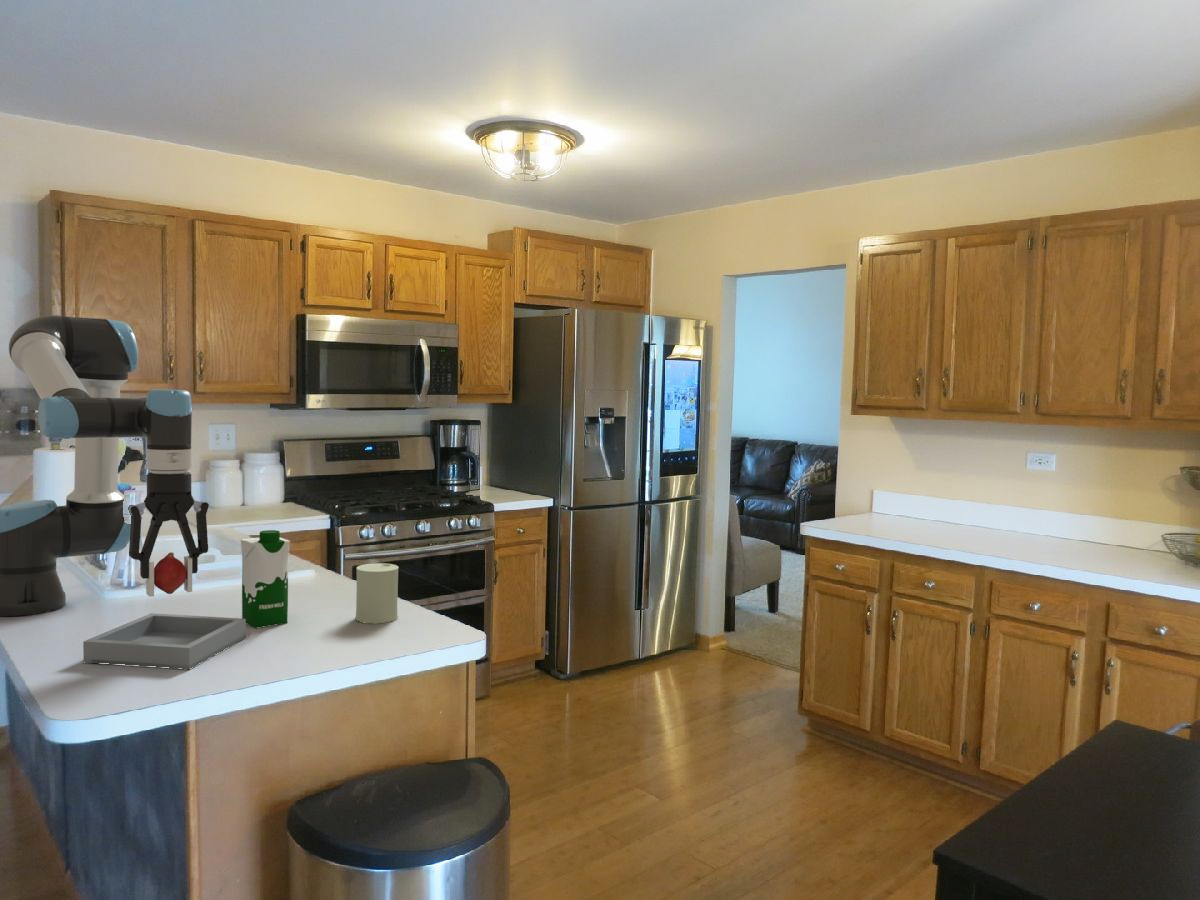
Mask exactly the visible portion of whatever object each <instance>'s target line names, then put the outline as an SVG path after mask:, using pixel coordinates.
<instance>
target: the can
mask: <svg viewBox="0 0 1200 900" xmlns="http://www.w3.org/2000/svg"><path fill="white" fill-rule="evenodd" d="M399 567H400V566H398V565H397V564H393V563H381V562H378V563H377V562H376V563H366V564H361V565H358V566H357V567H356V570H355V571H356V599H355V600H356V605H355V607H356V608H355V609H356V610H355V621H356V620H357V621H356V622H358V621H360V622H359V623H361V622H365V623H364V624H368V623H381V624H386V623H385V622H388V623H391V621H392V622H395V621H396V620H397V619H398V618H399V616H398V614H399V613H398V597H399V596H398V594H399V593H398V592H399V590H398V589H399V588H398V587H399V586H398V585H399Z"/></svg>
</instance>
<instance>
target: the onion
mask: <svg viewBox="0 0 1200 900" xmlns="http://www.w3.org/2000/svg"><path fill="white" fill-rule="evenodd" d="M174 555H175V554H174V552H171V551H170V552H169V553H167V554H166V555H165V556H164V557H163V558H161V559H160V560H159V561H158V562H157V563H156V564H155V565H154V587H156V588H157V589H159V590H160V591H162V592H163V593H166V594H168V595H171V594H174V593H175V591H176V590H178V589H179V588H180V587H182V586H183V585H184V582H185V580H186V569H185V566H184V562H182V561H181V560H180V559H178V558H177V557H175V556H174Z"/></svg>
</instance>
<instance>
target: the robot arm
mask: <svg viewBox="0 0 1200 900" xmlns="http://www.w3.org/2000/svg"><path fill="white" fill-rule="evenodd" d="M8 353H9V358H10V359H11V360H12V363H13V364H14V366H15V367H16V368H17V369H18V370H19V371H21V372H23V373H24V374H25V375H26V376H27V377H28V380H29V381H30V382H31V385H32V387H33V388H34V389H35V391H36V393H37V395H38V396H39V399H40V401H39V405H38V410H37V420H38V426H39V430H40V433H41V434H42V435H43V437H46V438H54V439H55V438H57V439H64V440H69V439H74V478H73V479H74V480H73V481H74V484H73V485H74V489H72V491H71V492H70V493H69V494H68V495H66V497H65V498H66V499H65V500H66V501H65V502H66V503H65V505H57V503H56V501H55V500H53V499H40V500H36V499H35V500H29V501H23V502H22V501H21V502H17V503H12V504H8V505H4V506H2V507H0V617H16V616H19V617H20V616H27V615H29V616H30V615H36V614H42V613H48V612H51V611H52V612H53V611H56V610H58V609H61V608H64V607H65V606H66V605H67V601H66V600H67V598H66V596H67V595H66V592H65V591H64V589H63V585H62V582H61V580H60V577H59V574H58V571H57V559H58V558H59V559H60V558H69V557H79V556H87V555H88V556H89V555H91V556H92V555H106V554H109V553H110V554H111V553H115V552H116V553H117V552H121V551H123V550H124V549H125V548H126V547H127V545H129V546H128V557H130V558H131V559H133V560H138V561H139V563H140V564H139V565H140V568H139V569H140V570H139V572H140V574H139V575H140V577H141V578H142V579H145V585H146V586H145V588H146V590H145V592H146V595H147V596H148V597H149V598H151V597H155V584H154V567H155V561H154V560H152V559H151V556H152V553H153V550H154V547H155V545H156V544H155V543H156V541H157V538H158V535H159V532H160V530H161V529H160V528H161V527H162V525H163V523H165V522H167V521H168V522H169V521H175V522H176V523H177V524H178V528H179V530H180V533H181V537H182V539H183V543H184V545H185V548H186V550H187V553H188V555H184V556H183V559H184V560H183V565H184V566H185V569H186V580H185V582H184V583H183V586H184V587H183V589H184V591H185V592H187V593H192V592H193V574H197V573H198V571H199V570H198V569H199V568H198V566H199V564H198V558H199V557H200V555H202V554H207V553H208V552H209V539H208V524H207V523H208V522H207V513H208V509H209V506H210V504H209V502H207V501H204V500H195V498H194V497H193V494H192V473H191V472H189V470H192V420H193V419H192V414H193V406H192V395H191V393H190V392H189V391H188V390H186V389H159V388H158V389H155V388H154V389H149V390H147V393H146V397H139V398H136V397H135V398H129V397H127V398H126V397H121V387H122V386H123V385H125V383H127V382H128V380H129V374H131V373H134V372H136V370H137V368H138V364H139V348H138V343H137V340H136V336H135V333H134V332H133V329H132V328H131V326H130V325H129V324H128V323H126V322H125V321H122V320H115V319H108V318H96V317H95V318H94V317H78V316H77V317H76V316H64V315H63V316H62V315H56V314H55V315H52V314H51V315H41V316H38V317H34V318H33V319H30V320H28V321H26V322H24V323H23V324H21V325H20V326H19V327H18V328H17V329H16V330H14V332H13V334H12V335H11V337H10V339H9V342H8ZM120 438H146V469H147V470H148V471H150V472H148V473H147V474H146V496H145V498H144V501H143V502H139V503H138V504H135V505H134V504H131V505H129V507H128V510H129V513H130V515H131V524H127V523H125V522H124V517H123V501H124V496H125V494H123V493H122V492H121V491H120V490H119V488H118V482H119V481H118V480H119V447H120V444H119V443H120ZM192 507H193V510H194V512H195V521H196V533H197V534H196V535H197V537H196V538H197V545H196V543H195V539H194V536H193V533H192V530H191V528H190V525H189V520H188V518H187V513H188V512H189V511H190V509H191V508H192ZM145 509H146V510H147V511H148V512H149V513H150V514H151V516H152V517H151V519H150V522H149V523H150V525H149V526H148V530H147V533H146V535H145V536H146V537H145V539H144V542H143V545H142V548H141V551H140V547H141V533H142V532H141V528H142V516H143V515H144V514H145Z"/></svg>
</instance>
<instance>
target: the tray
mask: <svg viewBox="0 0 1200 900" xmlns="http://www.w3.org/2000/svg"><path fill="white" fill-rule="evenodd" d="M246 629H247V623H246V619H242V617H241V618H238V617H224V616H223V617H221V616H206V615H205V616H204V615H203V616H201V615H189V614H187V615H186V614H171V613H156V612H155V613H153V612H151V613H148V614H147V615H144V616H141V617H139V618H137V619H134V620H132V621H130V622H126V623H125V624H122V625H119V626H117V627H114V628H112V629H110V630H107V631H105V632H103V633H100V634H97V635H95V636H92V637H91V638H88V639H85V640H84V641H83V650H82V651H83V663H84V662H85V663H84V664H88V663H109V664H125V665H139V666H156V667H169V668H182V669H190V668H192V667H194V666H196V665H198V664H199V663H201V662H203V661H205V660H206V661H208V660H209V659H208V658H210V657H212V656H213V657H215V656H216V655H215V654H217V653H219V652H221V651H222V652H224V651H225V650H224V649H226V648H228V647H229V648H231V647H233V646H234V644H235V643H237V642H238V643H240V642H242V641H243V639H244V638H245V639H247V638H246V637H247V635H246V634H247V632H246V631H247V630H246ZM245 639H244V640H245ZM241 640H242V641H241ZM239 641H240V642H239ZM238 643H237V644H238ZM232 645H233V646H232ZM235 645H236V644H235ZM230 646H231V647H230ZM229 648H228V649H229ZM223 650H224V651H223ZM226 650H227V649H226ZM222 652H221V653H222ZM219 654H220V653H219ZM214 655H215V656H214ZM217 655H218V654H217ZM213 657H212V658H213ZM207 659H208V660H207ZM210 659H211V658H210ZM206 661H205V662H206ZM203 663H204V662H203ZM201 664H202V663H201ZM199 665H200V664H199ZM199 665H198V666H199ZM196 667H197V666H196ZM194 668H195V667H194ZM192 669H193V668H192ZM190 670H191V669H190Z"/></svg>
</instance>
